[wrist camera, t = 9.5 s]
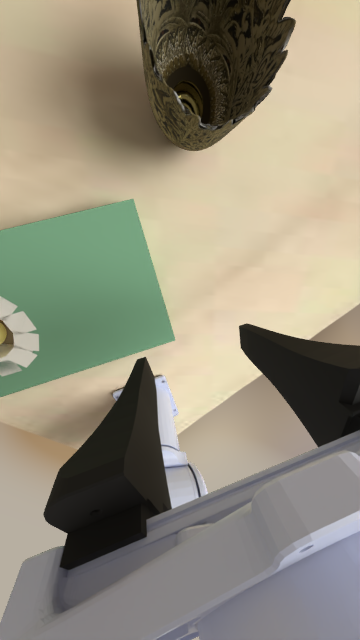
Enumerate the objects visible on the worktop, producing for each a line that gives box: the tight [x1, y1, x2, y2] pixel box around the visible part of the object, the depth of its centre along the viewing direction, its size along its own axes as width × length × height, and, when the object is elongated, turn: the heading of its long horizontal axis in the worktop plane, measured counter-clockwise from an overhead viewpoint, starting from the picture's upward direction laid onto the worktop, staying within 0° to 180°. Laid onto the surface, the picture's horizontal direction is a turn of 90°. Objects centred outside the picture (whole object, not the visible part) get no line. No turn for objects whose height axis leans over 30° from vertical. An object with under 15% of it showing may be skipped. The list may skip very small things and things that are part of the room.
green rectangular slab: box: [0, 199, 175, 397], centre depth 17 cm, size 14×22×3 cm, turn 104°
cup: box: [137, 0, 296, 151], centre depth 11 cm, size 8×7×8 cm
